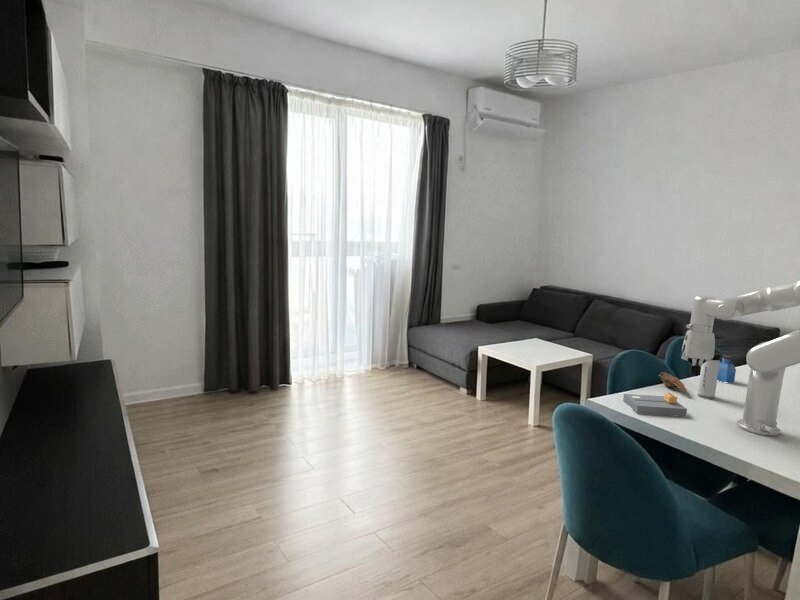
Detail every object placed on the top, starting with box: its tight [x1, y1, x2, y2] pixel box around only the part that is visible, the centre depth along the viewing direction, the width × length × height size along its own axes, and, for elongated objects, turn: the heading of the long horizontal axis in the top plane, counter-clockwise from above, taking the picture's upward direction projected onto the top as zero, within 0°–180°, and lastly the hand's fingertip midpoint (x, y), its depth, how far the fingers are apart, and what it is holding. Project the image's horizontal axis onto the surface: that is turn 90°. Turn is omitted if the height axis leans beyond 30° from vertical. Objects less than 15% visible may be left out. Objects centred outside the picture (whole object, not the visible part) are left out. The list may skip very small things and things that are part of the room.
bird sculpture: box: [657, 371, 688, 393], centre depth 223 cm, size 7×25×5 cm, turn 178°
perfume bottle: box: [717, 354, 737, 383], centre depth 239 cm, size 6×6×12 cm
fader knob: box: [664, 392, 678, 403], centre depth 195 cm, size 4×3×3 cm
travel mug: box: [697, 350, 721, 400], centre depth 213 cm, size 6×7×20 cm
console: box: [622, 393, 688, 417], centre depth 196 cm, size 14×18×3 cm
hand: (693, 375), depth 194 cm, fingers closed
